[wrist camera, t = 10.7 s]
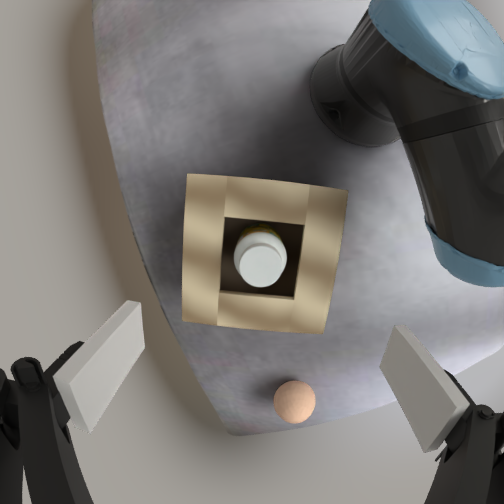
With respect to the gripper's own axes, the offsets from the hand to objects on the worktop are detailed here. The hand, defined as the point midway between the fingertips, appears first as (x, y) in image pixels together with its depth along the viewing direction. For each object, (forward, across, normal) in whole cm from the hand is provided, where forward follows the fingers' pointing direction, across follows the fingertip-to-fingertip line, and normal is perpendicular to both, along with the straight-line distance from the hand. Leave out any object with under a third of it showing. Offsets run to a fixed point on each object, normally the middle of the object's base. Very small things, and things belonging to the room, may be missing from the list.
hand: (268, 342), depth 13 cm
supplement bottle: (+22, -1, 0) cm, 22 cm away
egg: (+24, +7, -24) cm, 35 cm away
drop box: (+24, -1, 0) cm, 24 cm away
